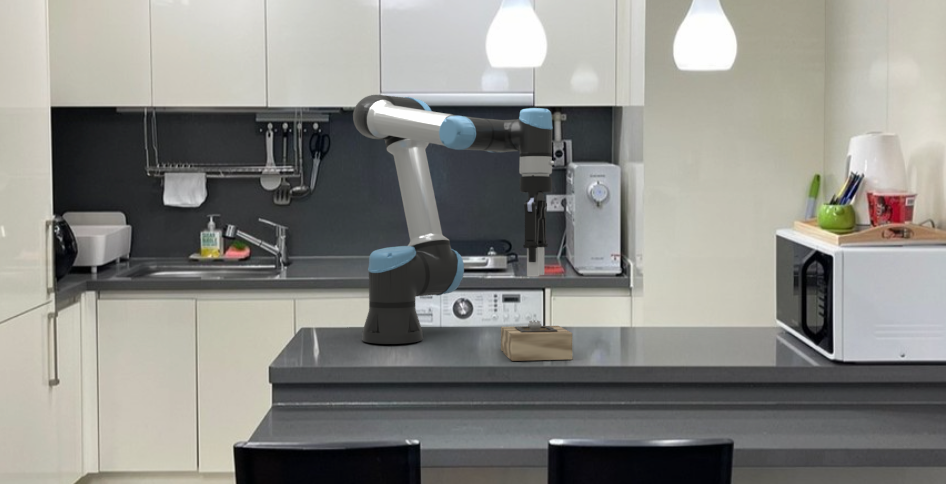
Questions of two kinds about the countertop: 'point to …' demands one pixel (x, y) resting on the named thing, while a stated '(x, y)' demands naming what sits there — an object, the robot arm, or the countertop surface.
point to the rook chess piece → (534, 325)
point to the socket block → (536, 343)
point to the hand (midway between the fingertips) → (535, 275)
